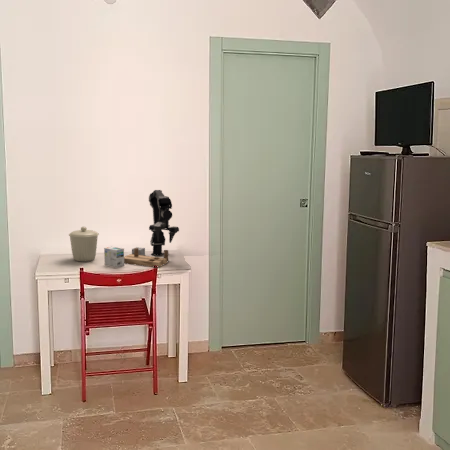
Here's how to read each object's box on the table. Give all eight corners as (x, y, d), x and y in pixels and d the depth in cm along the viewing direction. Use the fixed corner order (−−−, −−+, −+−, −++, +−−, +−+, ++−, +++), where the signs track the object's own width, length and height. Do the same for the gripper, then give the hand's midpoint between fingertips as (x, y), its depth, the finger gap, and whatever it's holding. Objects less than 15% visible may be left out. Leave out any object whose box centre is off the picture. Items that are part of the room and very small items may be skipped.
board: (131, 258, 375) (130, 246, 374) (167, 263, 365) (167, 250, 364) (120, 262, 364) (120, 250, 363) (157, 267, 354) (157, 254, 353)
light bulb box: (124, 265, 358) (124, 248, 356) (116, 267, 352) (116, 250, 350) (112, 262, 364) (111, 245, 362) (104, 265, 358) (103, 247, 356)
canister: (102, 257, 378) (102, 224, 374) (93, 263, 360) (93, 229, 356) (75, 255, 379) (74, 223, 376) (65, 262, 362) (64, 228, 358)
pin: (165, 260, 372) (165, 249, 370) (169, 261, 371) (169, 250, 369) (163, 261, 369) (163, 250, 368) (167, 262, 368) (167, 251, 367)
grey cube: (136, 256, 382) (136, 247, 380) (144, 257, 379) (144, 248, 378) (131, 258, 376) (131, 249, 375) (140, 259, 374) (140, 250, 373)
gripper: (143, 217, 363) (144, 242, 365) (169, 220, 354) (169, 245, 357) (154, 215, 372) (154, 239, 375) (179, 217, 364) (179, 242, 367)
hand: (164, 242), depth 368 cm, fingers open, 9 cm apart
